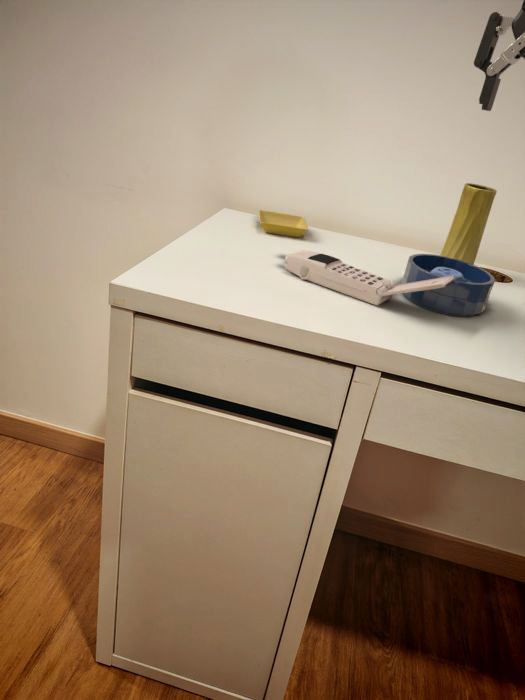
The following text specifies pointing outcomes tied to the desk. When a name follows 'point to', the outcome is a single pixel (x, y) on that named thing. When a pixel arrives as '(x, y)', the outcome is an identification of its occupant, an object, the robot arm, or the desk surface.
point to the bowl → (456, 295)
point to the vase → (469, 223)
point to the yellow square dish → (282, 223)
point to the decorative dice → (448, 273)
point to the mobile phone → (352, 277)
